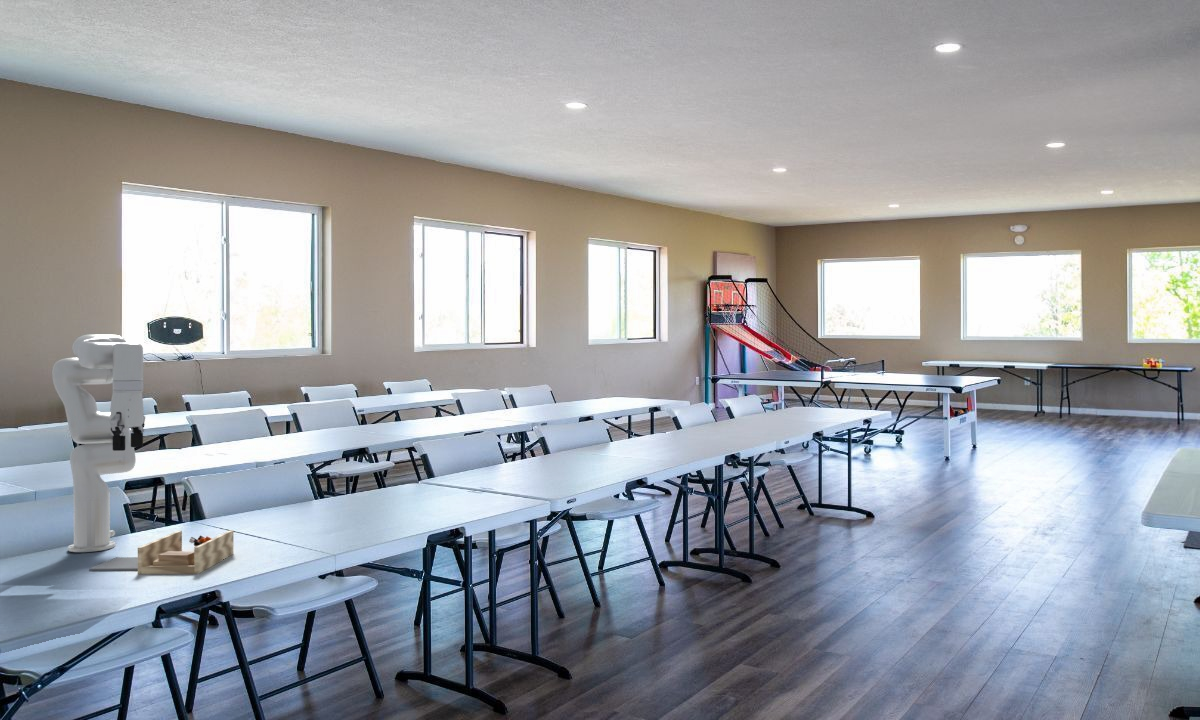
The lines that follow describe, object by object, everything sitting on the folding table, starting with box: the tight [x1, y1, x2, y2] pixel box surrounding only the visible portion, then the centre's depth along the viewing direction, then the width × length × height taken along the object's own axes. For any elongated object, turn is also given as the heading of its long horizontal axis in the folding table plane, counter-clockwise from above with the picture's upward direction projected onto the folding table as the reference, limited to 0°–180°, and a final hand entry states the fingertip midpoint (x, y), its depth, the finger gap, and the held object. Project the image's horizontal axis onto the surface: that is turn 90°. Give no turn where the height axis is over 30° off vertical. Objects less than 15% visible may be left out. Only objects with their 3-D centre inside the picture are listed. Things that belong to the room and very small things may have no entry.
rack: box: [137, 530, 234, 575], centre depth 252 cm, size 24×16×7 cm, turn 1°
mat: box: [88, 556, 138, 572], centre depth 251 cm, size 14×14×1 cm
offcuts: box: [153, 550, 194, 566], centre depth 245 cm, size 6×10×4 cm, turn 91°
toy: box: [188, 535, 212, 547], centre depth 264 cm, size 8×6×15 cm
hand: (128, 448), depth 251 cm, fingers open, 9 cm apart
